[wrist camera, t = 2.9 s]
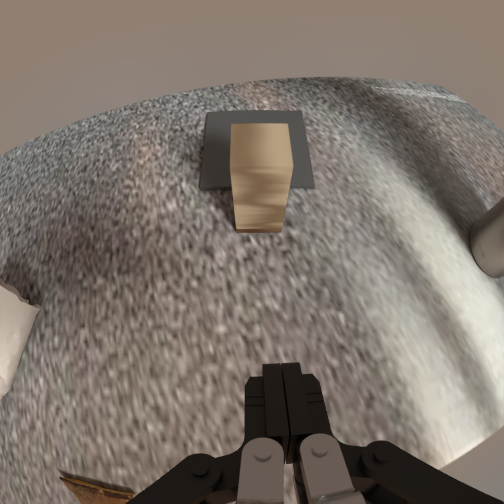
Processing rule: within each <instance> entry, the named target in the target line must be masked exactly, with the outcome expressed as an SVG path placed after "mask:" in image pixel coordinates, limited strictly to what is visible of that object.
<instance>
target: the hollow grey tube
mask: <svg viewBox="0 0 504 504" xmlns="http://www.w3.org/2000/svg"><path fill="white" fill-rule="evenodd" d="M28 303H29V300H25V299H23V298H22V297H21V296H20V294H19V292H18V290H17V289H16V288H15V287H14V286H12V285H7V284H5V283H4V281H3V280H2V279H0V402H1V400H2V397H3V395H5V394H6V393H7V392H8V391H10V389H11V385H12V383H13V380H14V377H15V374H16V371H17V368H18V364H19V361H20V358H21V355H22V353H23V350H24V348H25V345H26V343H27V340H28V337H29V335H30V332H31V329H32V326H33V323H34V321H35V317H36V315H37V313H38V312H39V311H40V309H41V307H40V306H39V305H38V304H36V305H32V306H31V305H29V304H28Z"/></svg>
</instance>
